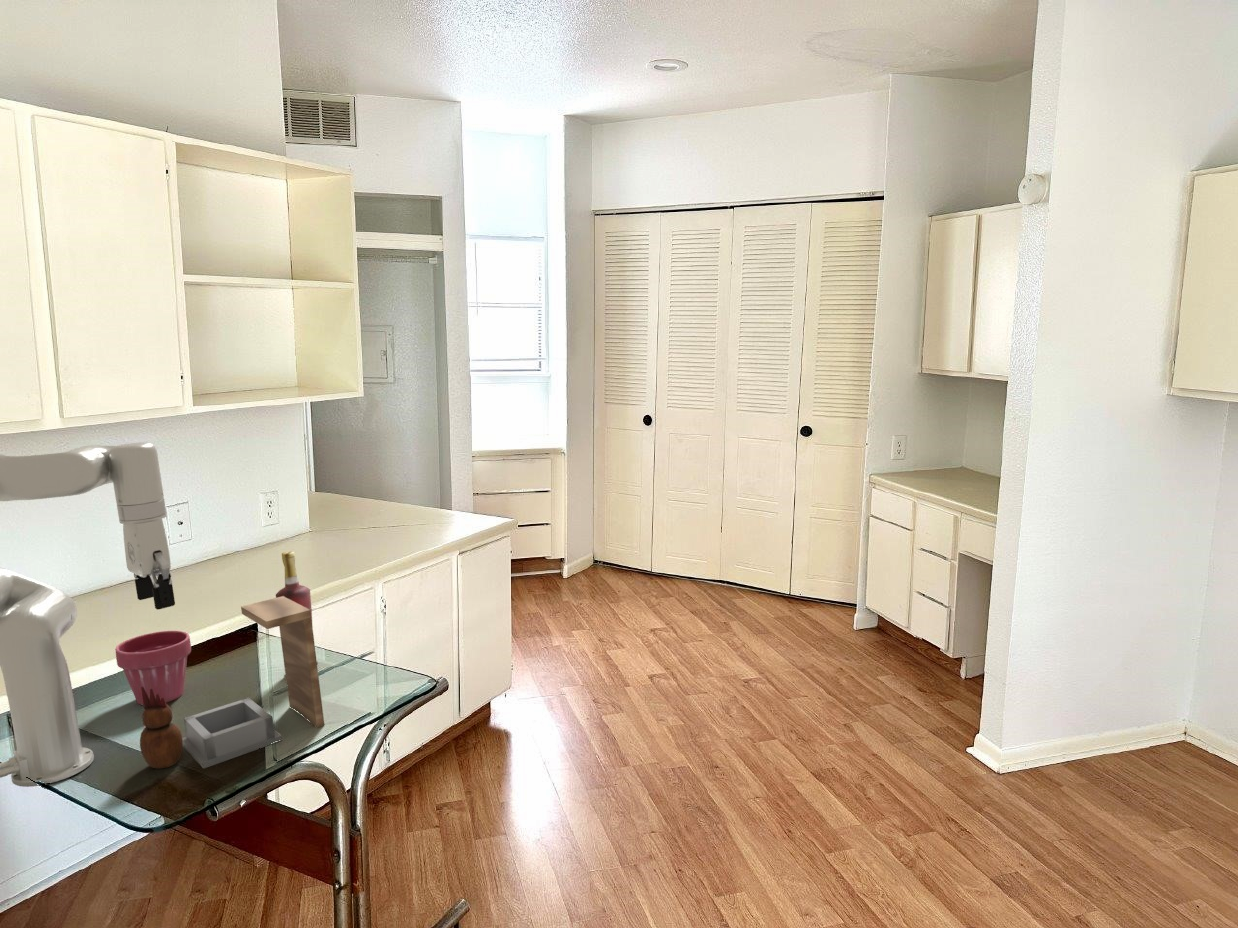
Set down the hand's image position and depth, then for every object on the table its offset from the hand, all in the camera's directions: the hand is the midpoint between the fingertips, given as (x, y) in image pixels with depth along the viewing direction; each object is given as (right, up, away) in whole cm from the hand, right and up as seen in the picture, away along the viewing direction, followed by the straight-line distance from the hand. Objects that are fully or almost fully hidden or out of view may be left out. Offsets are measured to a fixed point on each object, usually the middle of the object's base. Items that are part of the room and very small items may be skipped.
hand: (156, 602), depth 156 cm
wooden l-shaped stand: (+20, -26, +13) cm, 35 cm away
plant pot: (-15, -26, +30) cm, 42 cm away
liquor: (+12, -22, +39) cm, 47 cm away
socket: (+11, -27, +5) cm, 30 cm away
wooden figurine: (+2, -29, -2) cm, 29 cm away
